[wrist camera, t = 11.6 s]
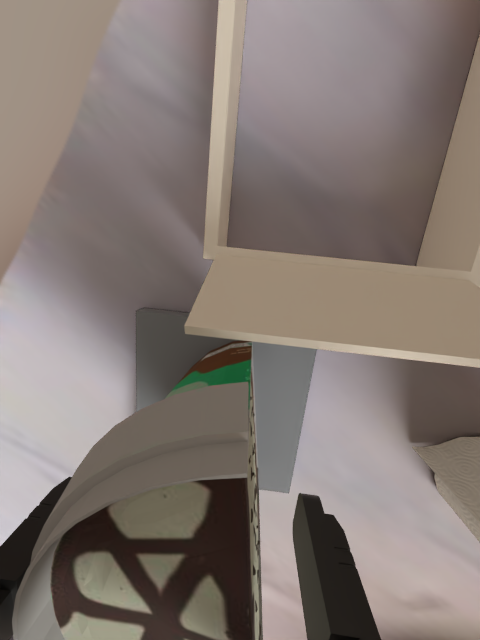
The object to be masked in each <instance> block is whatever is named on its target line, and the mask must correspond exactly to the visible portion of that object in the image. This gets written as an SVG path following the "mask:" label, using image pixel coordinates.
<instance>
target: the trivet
mask: <svg viewBox="0 0 480 640" xmlns="http://www.w3.org/2000/svg"><path fill="white" fill-rule="evenodd" d="M189 314H190V313H186V312H177V311H168V310H159V309H150V308H142V309H139V310H136V410H137V411H139V410H141V409H142V408H144V407H147V406H149V405H151V404H154V403H156V402H159V401H161V400H163V399H165V398H166V396H167V395H168V394H169V393H170V392H171V391H172V389H173V388H174V387H175V386H176V385H177V384H178V382H179V381H180V380H181V379H182V378H183V377H184V375H185V374H186V373H187V372H188V371H189V370H190V368H191V367H192V366H193V365H194V364H195V363H197V362H198V361H199V360H200V359H201V358H202V357H204V356H205V355H206V354H207V353H208V352H209V351H211V350H213V349H216V348H218V347H220V346H223V345H225V344H228V343H230V342H233V341H240V340H235V339H226V338H217V337H208V336H200V335H191V334H185V328H184V325H185V323H186V321H187V318H188V316H189ZM252 345H253V366H254V388H255V410H256V432H257V454H258V481H259V489H260V490H268V491H275V492H283V493H289V491H290V486H291V480H292V475H293V470H294V465H295V460H296V454H297V449H298V444H299V439H300V433H301V428H302V423H303V418H304V413H305V407H306V402H307V397H308V392H309V387H310V381H311V376H312V371H313V366H314V361H315V355H316V350H317V349H313V348H304V347H295V346H287V345H278V344H269V343H261V342H252Z"/></svg>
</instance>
